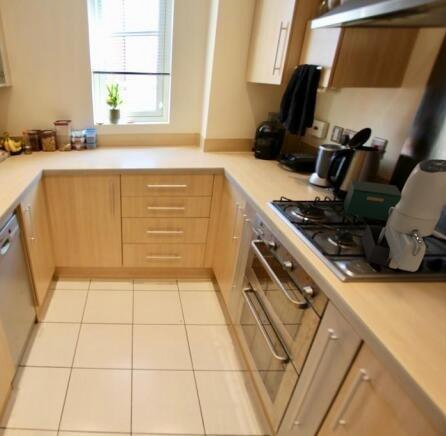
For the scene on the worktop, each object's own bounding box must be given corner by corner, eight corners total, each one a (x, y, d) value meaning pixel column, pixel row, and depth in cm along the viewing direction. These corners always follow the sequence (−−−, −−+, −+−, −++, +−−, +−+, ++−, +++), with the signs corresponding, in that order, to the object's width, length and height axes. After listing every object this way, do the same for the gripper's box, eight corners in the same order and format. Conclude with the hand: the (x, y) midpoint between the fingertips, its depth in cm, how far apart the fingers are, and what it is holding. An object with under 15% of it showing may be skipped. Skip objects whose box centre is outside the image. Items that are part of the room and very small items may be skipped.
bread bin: (385, 210, 125) (396, 185, 120) (391, 222, 117) (402, 196, 112) (342, 204, 131) (351, 180, 126) (345, 214, 123) (354, 189, 118)
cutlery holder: (393, 249, 101) (406, 221, 96) (403, 273, 91) (419, 243, 86) (360, 243, 105) (371, 215, 100) (365, 265, 94) (378, 235, 89)
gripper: (440, 244, 73) (415, 291, 79) (417, 209, 88) (397, 250, 95) (406, 238, 75) (384, 283, 82) (389, 204, 91) (372, 245, 98)
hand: (391, 265), depth 88 cm, fingers closed
